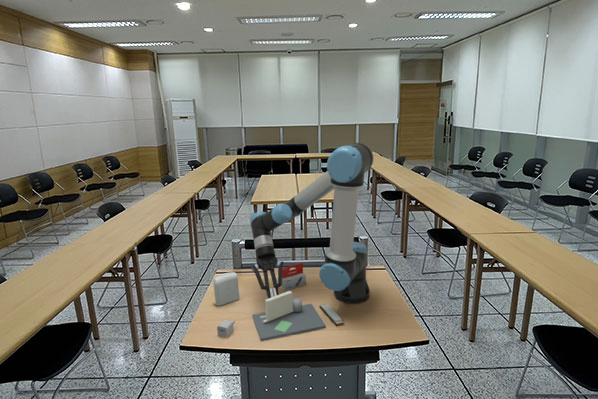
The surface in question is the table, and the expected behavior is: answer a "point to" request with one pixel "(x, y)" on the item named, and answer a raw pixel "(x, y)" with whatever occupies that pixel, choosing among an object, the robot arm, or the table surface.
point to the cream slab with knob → (281, 306)
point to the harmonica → (331, 314)
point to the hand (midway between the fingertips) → (275, 305)
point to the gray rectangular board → (288, 323)
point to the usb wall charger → (225, 328)
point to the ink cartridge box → (293, 277)
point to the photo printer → (226, 288)
